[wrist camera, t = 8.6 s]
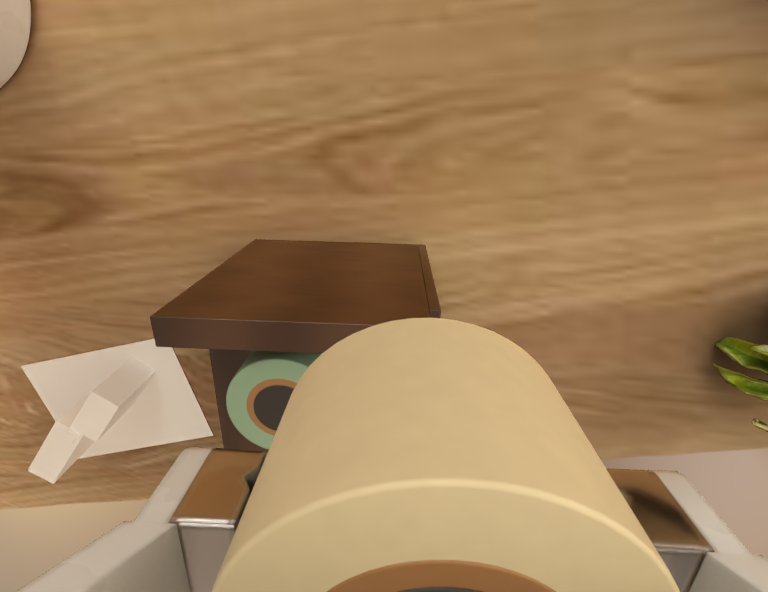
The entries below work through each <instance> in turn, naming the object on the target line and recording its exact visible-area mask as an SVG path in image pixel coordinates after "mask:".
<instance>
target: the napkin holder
mask: <svg viewBox="0 0 768 592" xmlns="http://www.w3.org/2000/svg"><path fill="white" fill-rule="evenodd" d="M21 368H22V369H23V371H24V372H25V374H26V376H27V377H28V379H29V380H30V382H31V383H32V385H33V387H34V388H35V390H36V391H37V393H38V395H39V396H40V398H41V399H42V401H43V403H44V404H45V406H46V407H47V409H48V410H49V412H50V414H51V415H52V417H53V418H54V420H55V424H54V425H53V427H52V429H51V431H50V432H49V434H48V436H47V438H46V439H45V441H44V443H43V445H42V446H41V448H40V450H39V452H38V453H37V455H36V457H35V458H34V460H33V462H32V464H31V465H30V467H29V469H28V471H29V472H31V473H33V474H35V475H37V476H39V477H41V478H43V479H45V480H47V481H49V482H51V483H52V484H54V483H55V482H56V481H57V480H58V478H59V477H60V476H61V475H62V474H63V473H64V472H65V471H66V470H67V469H68V468H69V467H70V466H71V465H72V464H73V463H74V462H75V461H76V460H77V459H78V458H79V459H80V458H86V457H92V456H97V455H103V454H109V453H115V452H121V451H127V450H133V449H138V448H144V447H150V446H156V445H162V444H168V443H173V442H179V441H185V440H191V439H197V438H203V437H208V436H213V434H212V431H211V429H210V427H209V425H208V423H207V421H206V419H205V417H204V414H203V412H202V410H201V408H200V406H199V404H198V402H197V399H196V397H195V395H194V393H193V391H192V389H191V387H190V385H189V382H188V380H187V378H186V376H185V374H184V372H183V370H182V368H181V365H180V363H179V361H178V359H177V357H176V355H175V353H174V351H173V348H172V347H156V344H155V339H150V340H145V341H141V342H136V343H131V344H126V345H121V346H116V347H111V348H106V349H101V350H96V351H92V352H87V353H82V354H77V355H72V356H67V357H62V358H57V359H52V360H47V361H42V362H38V363H33V364H28V365H23V366H21Z"/></svg>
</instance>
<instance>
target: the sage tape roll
mask: <svg viewBox="0 0 768 592" xmlns="http://www.w3.org/2000/svg"><path fill="white" fill-rule="evenodd" d="M321 354H322V353H305V352H280V351H254V350H252V351H251V353H250V354H249V355H248V357H247V358H246V360H245V361H244V363H243V364H242V366H241V367H240V369H239V370H238V372H237V373H236V375H235V376H234V378H233V379H232V381H231V382H230V384H229V387H228V390H227V395H226V406H227V411H228V414H229V417H230V419H231V421H232V423H233V424H234V426H235V427H236V429H237V430H238V431H239V432H240V433H241V434H242V435H243V436H244V437H245V438H247V439H248V440H249V441H251V442H252V443H254V444H256V445H258V446H260V447H262V448H265V449H268V450H269V448H270V446H271V443H272V441H273V438H274V436H275V433H276V431H277V428H278V426H279V423H280V421H281V419H282V416H283V414H284V411H285V409H286V406H287V404H288V401H289V399H290V396H291V394H292V392H293V390H294V388H295V387H296V385H297V383H298V381H299V379H300V378H301V377H302V375H303V374H304V373H305V371H306V370H307V369H308V367H309V366H310V365H311V364H312V363H313V362H314V361H315V360H316V359H317V358H318V357H319V356H320V355H321Z"/></svg>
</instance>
